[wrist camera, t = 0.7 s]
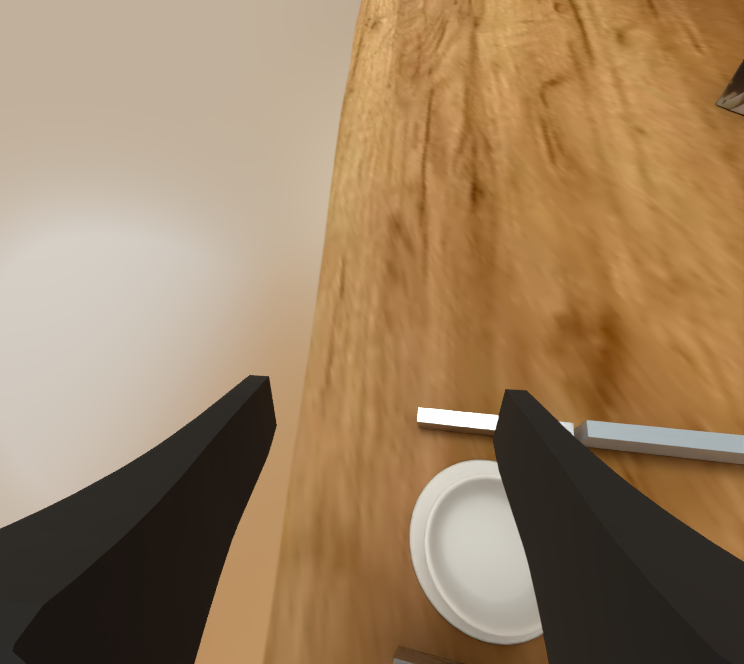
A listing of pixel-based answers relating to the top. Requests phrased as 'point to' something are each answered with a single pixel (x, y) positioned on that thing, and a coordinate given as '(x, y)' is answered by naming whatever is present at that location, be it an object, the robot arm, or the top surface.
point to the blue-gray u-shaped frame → (662, 441)
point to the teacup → (474, 555)
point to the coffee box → (734, 92)
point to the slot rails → (474, 423)
